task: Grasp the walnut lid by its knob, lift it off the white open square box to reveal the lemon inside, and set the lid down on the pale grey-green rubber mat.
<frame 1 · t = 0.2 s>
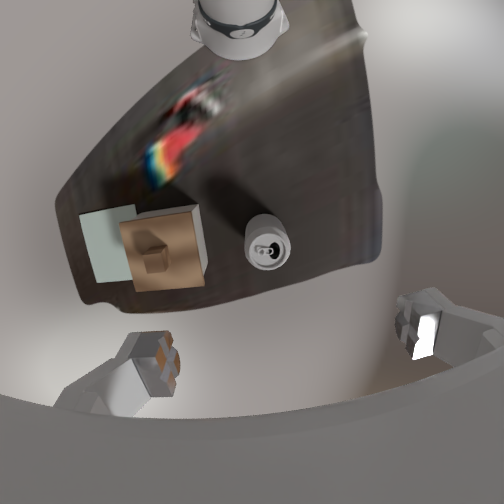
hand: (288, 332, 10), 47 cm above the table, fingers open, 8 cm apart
can: (264, 231, 58), on the table
lid: (162, 252, 49), point 9 cm above the table, touching white open square box
mat: (114, 245, 58), on the table
white open square box: (174, 237, 58), on the table
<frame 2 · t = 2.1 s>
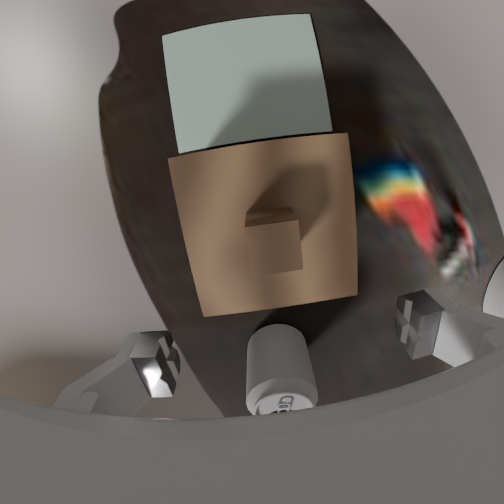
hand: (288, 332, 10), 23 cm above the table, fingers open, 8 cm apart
can: (276, 342, 37), on the table
lid: (270, 227, 23), point 9 cm above the table, touching white open square box
mat: (245, 76, 26), on the table
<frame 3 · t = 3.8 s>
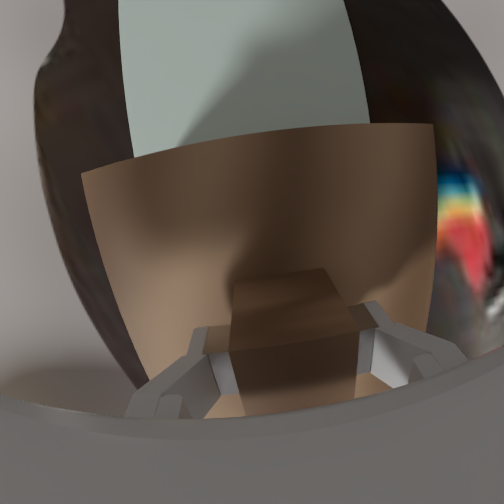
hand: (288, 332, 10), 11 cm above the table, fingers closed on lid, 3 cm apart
lid: (281, 299, 12), point 9 cm above the table, touching gripper, white open square box
mat: (236, 39, 16), on the table
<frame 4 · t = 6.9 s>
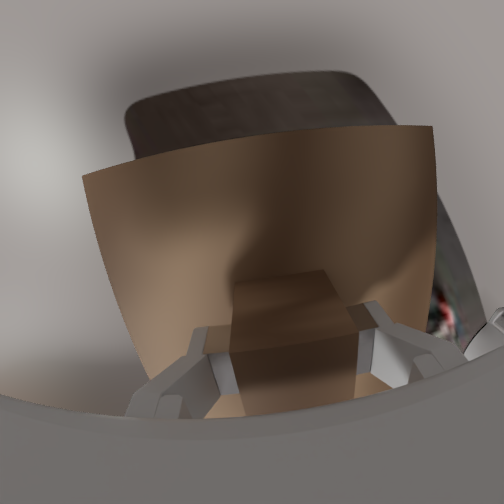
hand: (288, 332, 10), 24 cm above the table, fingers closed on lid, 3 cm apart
lid: (281, 301, 12), point 21 cm above the table, touching gripper
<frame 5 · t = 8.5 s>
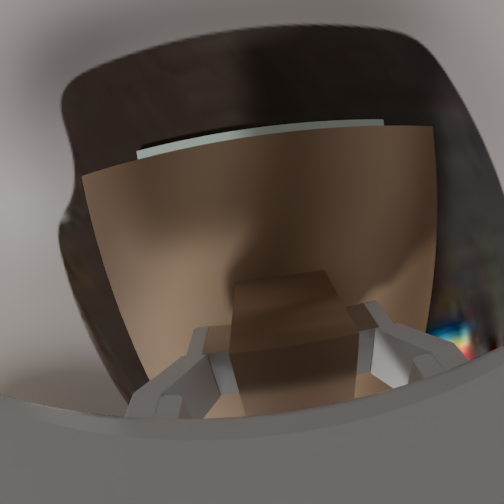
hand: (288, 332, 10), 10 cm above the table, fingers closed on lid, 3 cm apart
lid: (281, 301, 12), point 8 cm above the table, touching gripper
mat: (275, 234, 19), on the table
when the fingers open (4 cm above the table, at t = 9.9 s): lid drops 1 cm, resting on mat.
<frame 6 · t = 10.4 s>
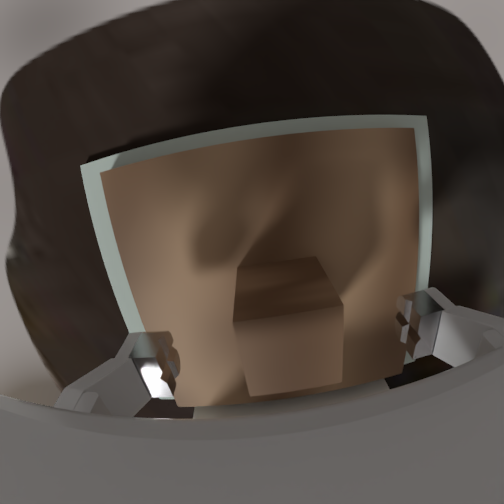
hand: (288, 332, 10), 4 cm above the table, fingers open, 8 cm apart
lid: (278, 286, 13), resting on mat
mat: (276, 279, 14), on the table
white open square box: (295, 443, 18), on the table
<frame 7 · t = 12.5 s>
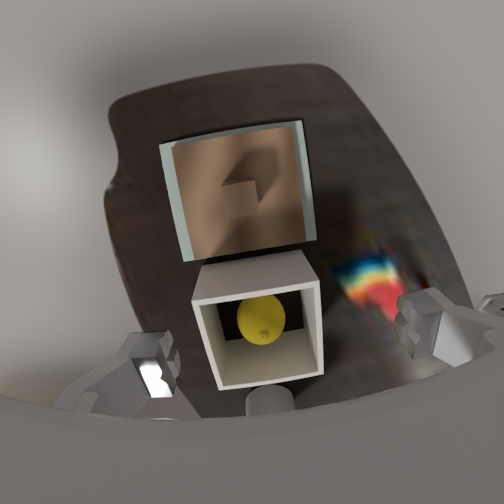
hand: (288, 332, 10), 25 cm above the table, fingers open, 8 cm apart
can: (268, 395, 43), on the table
lid: (240, 192, 32), resting on mat
mat: (239, 191, 33), on the table
lemon: (258, 300, 38), resting in white open square box
white open square box: (258, 301, 37), on the table
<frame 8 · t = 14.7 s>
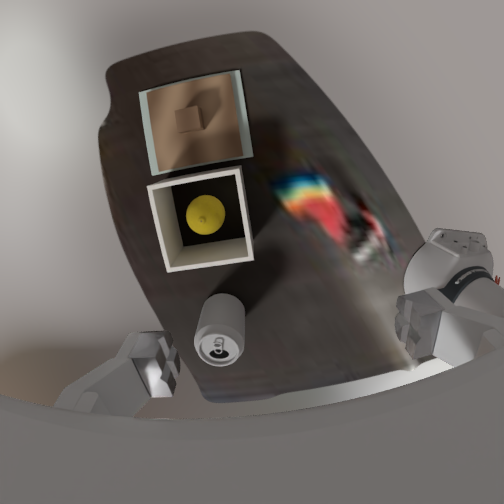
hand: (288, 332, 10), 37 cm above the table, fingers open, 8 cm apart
can: (224, 309, 52), on the table
lid: (194, 122, 41), resting on mat
mat: (194, 121, 41), on the table
lemon: (209, 208, 46), resting in white open square box
white open square box: (209, 209, 46), on the table
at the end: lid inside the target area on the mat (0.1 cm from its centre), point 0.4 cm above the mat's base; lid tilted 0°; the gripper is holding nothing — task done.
